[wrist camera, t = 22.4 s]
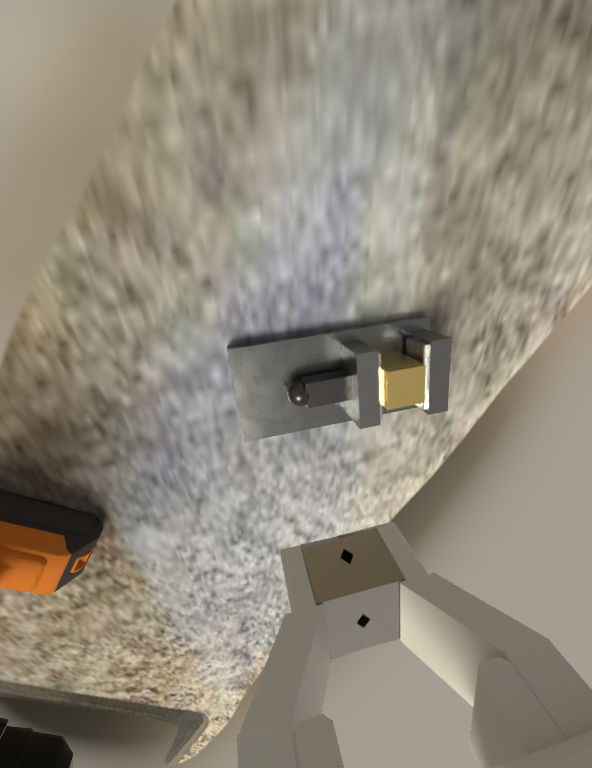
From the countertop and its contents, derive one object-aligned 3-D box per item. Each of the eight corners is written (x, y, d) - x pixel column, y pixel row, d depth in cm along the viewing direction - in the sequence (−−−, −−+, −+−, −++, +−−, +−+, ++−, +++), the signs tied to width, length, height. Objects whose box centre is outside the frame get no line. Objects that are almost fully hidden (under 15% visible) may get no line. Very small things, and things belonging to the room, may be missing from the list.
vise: (227, 346, 40) (227, 362, 34) (423, 315, 43) (456, 323, 37) (244, 436, 44) (247, 463, 38) (422, 400, 47) (450, 421, 41)
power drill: (155, 529, 46) (86, 799, 23) (134, 569, 48) (49, 860, 24) (-30, 479, 39) (-399, 796, 16) (-48, 528, 40) (-409, 882, 17)
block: (365, 357, 42) (386, 372, 36) (399, 351, 42) (425, 365, 37) (366, 391, 43) (387, 410, 38) (399, 384, 44) (424, 402, 39)
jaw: (279, 354, 39) (287, 366, 35) (364, 340, 41) (382, 350, 36) (289, 422, 43) (297, 441, 38) (367, 407, 44) (384, 424, 40)
